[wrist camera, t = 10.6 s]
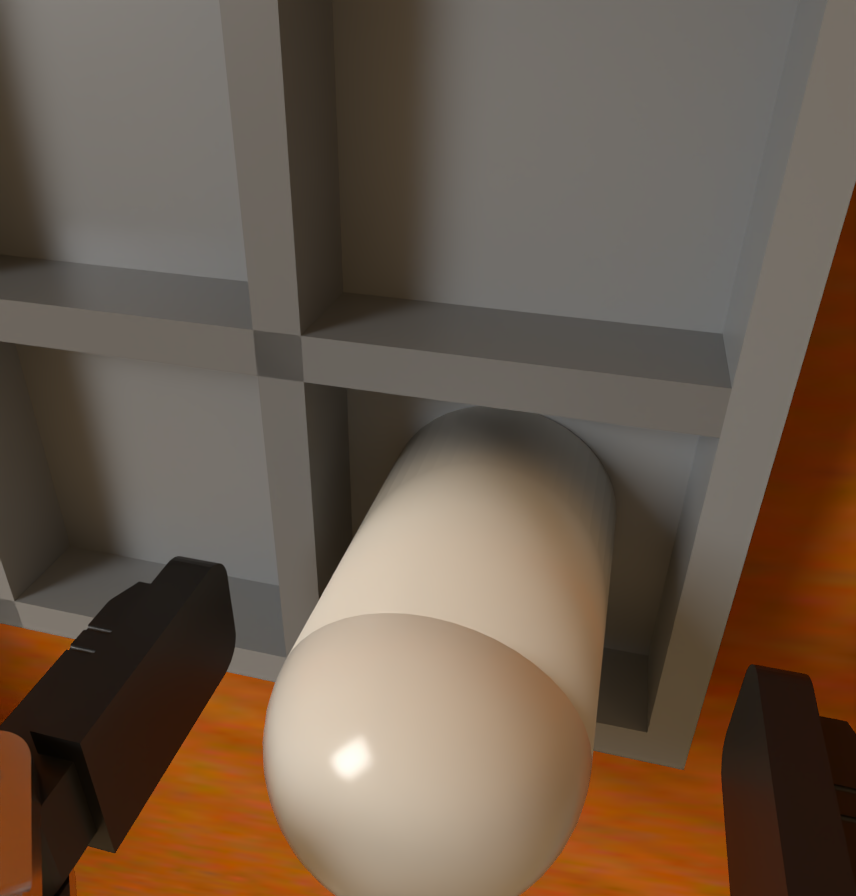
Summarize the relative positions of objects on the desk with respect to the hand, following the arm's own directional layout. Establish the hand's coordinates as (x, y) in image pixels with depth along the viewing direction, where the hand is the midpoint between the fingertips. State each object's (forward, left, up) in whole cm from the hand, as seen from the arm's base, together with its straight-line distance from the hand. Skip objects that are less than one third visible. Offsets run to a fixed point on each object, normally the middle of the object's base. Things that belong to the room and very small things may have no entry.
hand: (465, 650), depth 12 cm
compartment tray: (-4, -4, -4) cm, 7 cm away
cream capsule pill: (0, 0, -4) cm, 4 cm away
